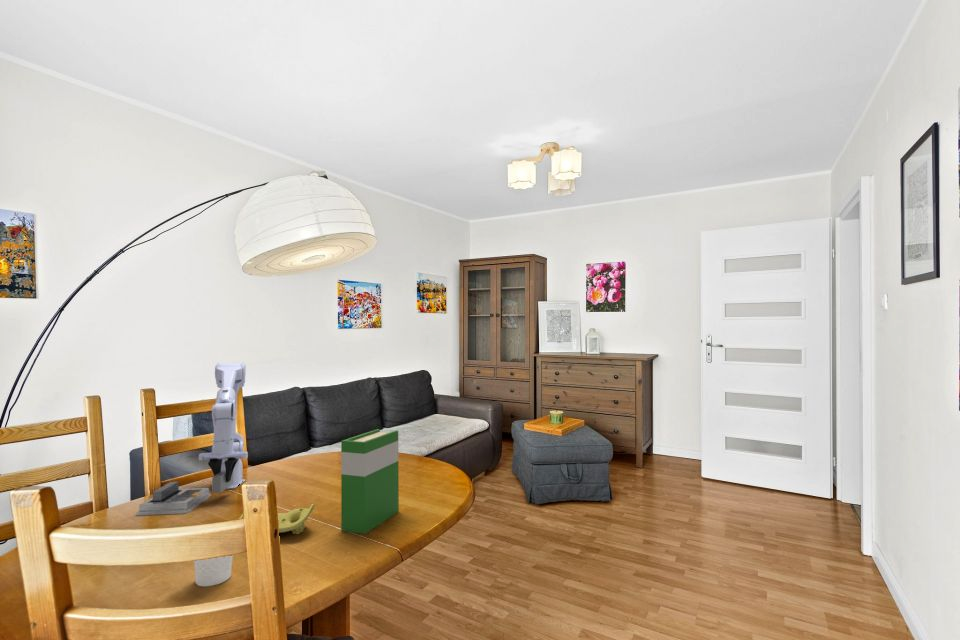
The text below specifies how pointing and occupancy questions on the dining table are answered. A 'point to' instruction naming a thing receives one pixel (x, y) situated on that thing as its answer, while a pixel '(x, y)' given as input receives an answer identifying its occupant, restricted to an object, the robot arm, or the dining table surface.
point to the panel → (220, 482)
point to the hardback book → (369, 480)
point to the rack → (173, 500)
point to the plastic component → (293, 520)
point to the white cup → (212, 570)
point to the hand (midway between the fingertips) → (223, 481)
